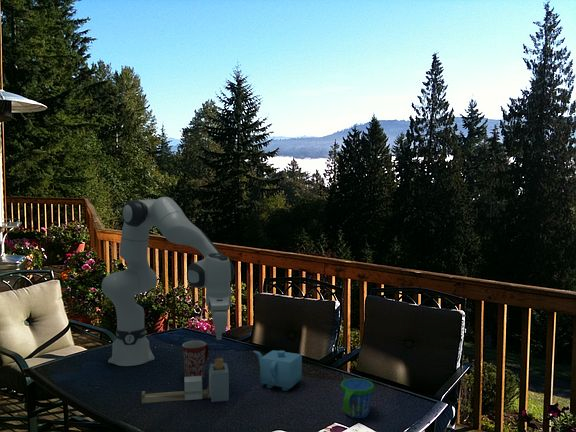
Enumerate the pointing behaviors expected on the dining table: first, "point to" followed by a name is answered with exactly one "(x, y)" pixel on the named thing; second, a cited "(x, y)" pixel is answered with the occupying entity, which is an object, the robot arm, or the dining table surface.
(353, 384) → the snack cup
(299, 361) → the teapot
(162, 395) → the rail
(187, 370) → the mug
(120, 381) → the dining table surface
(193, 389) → the carriage
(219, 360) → the plunger
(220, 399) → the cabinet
